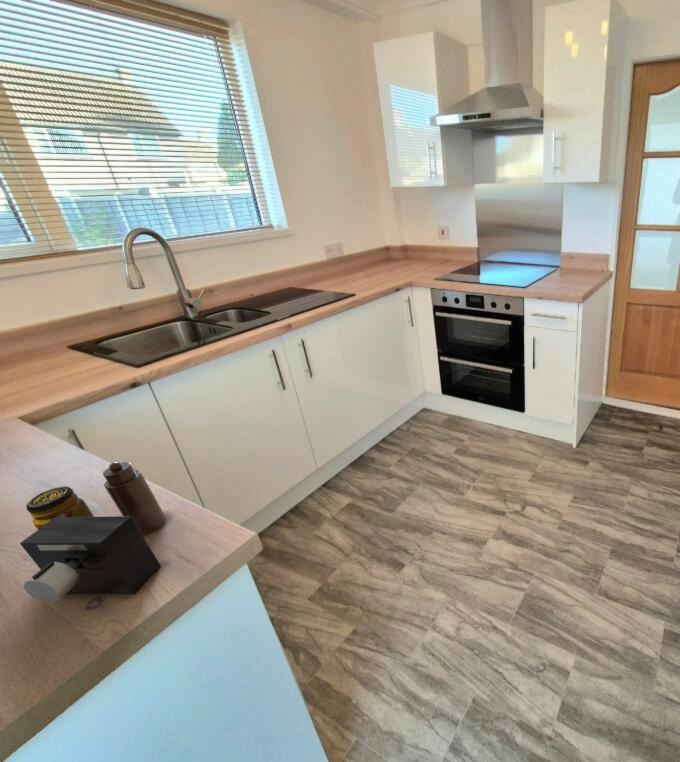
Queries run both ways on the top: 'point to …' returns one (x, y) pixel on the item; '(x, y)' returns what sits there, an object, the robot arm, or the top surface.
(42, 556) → the panel
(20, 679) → the top surface
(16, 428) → the top surface
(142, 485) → the pepper mill
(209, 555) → the top surface
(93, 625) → the top surface
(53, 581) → the knob
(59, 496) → the condiment
